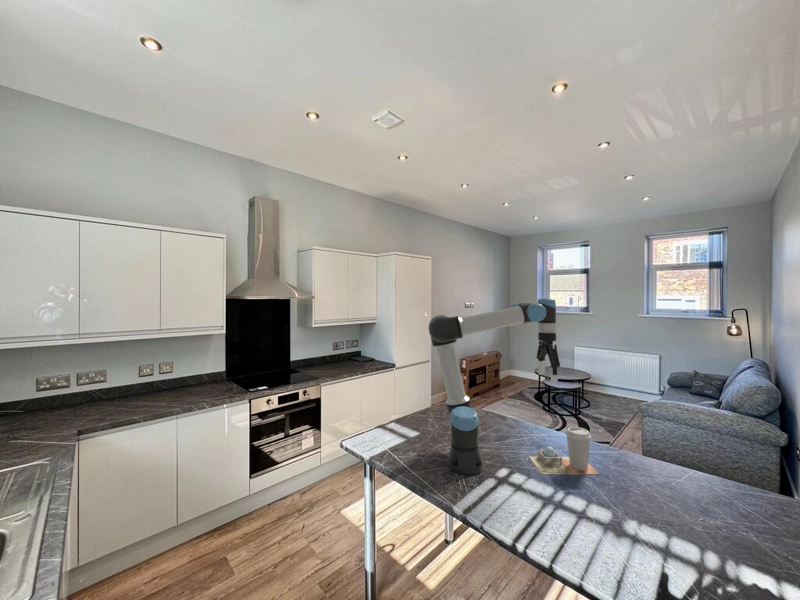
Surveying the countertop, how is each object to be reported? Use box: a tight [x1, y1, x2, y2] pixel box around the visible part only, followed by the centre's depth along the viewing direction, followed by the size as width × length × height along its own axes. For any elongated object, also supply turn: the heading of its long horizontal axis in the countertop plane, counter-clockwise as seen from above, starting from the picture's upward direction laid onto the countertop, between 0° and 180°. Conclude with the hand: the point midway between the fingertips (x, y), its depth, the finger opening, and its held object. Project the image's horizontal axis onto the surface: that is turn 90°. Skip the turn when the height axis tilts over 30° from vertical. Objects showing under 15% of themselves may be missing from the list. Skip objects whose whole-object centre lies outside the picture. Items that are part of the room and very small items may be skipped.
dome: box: [543, 446, 556, 457], centre depth 135 cm, size 4×4×5 cm
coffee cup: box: [565, 426, 593, 471], centre depth 130 cm, size 10×10×15 cm
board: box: [528, 449, 601, 476], centre depth 132 cm, size 23×14×4 cm, turn 87°
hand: (547, 378), depth 144 cm, fingers open, 13 cm apart
